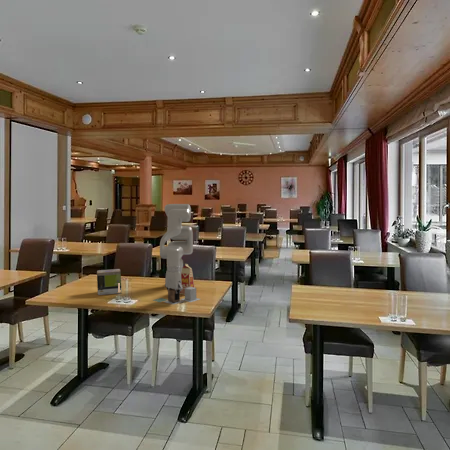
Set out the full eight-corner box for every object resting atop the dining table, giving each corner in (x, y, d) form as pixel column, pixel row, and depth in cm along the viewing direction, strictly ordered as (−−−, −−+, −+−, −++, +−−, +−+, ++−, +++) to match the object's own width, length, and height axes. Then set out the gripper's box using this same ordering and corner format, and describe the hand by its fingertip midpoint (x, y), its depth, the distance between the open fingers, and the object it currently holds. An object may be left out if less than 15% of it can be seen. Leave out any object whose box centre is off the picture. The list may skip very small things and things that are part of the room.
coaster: (152, 300, 243) (152, 300, 243) (161, 298, 248) (161, 297, 248) (159, 302, 238) (159, 302, 238) (168, 300, 244) (168, 299, 244)
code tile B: (180, 300, 244) (180, 299, 244) (190, 297, 251) (190, 296, 251) (190, 302, 238) (190, 302, 238) (201, 299, 245) (201, 299, 245)
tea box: (120, 290, 271) (120, 268, 269) (121, 293, 261) (121, 271, 260) (97, 291, 266) (96, 269, 265) (97, 295, 256) (96, 272, 255)
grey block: (184, 299, 244) (184, 288, 244) (190, 297, 248) (190, 286, 248) (190, 300, 241) (190, 289, 241) (196, 299, 245) (196, 288, 244)
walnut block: (168, 301, 240) (167, 289, 239) (174, 299, 244) (174, 288, 243) (173, 302, 237) (173, 290, 236) (179, 300, 240) (179, 289, 240)
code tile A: (163, 302, 239) (163, 301, 239) (174, 299, 246) (174, 298, 246) (173, 305, 233) (173, 304, 233) (184, 301, 240) (184, 301, 240)
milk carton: (191, 295, 256) (191, 264, 254) (177, 294, 258) (177, 263, 256) (195, 291, 265) (195, 262, 263) (182, 291, 267) (181, 261, 265)
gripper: (159, 268, 241) (159, 297, 243) (178, 271, 230) (178, 302, 232) (168, 266, 247) (169, 295, 248) (188, 269, 236) (188, 300, 237)
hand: (173, 298), depth 240 cm, fingers closed on walnut block, 5 cm apart
